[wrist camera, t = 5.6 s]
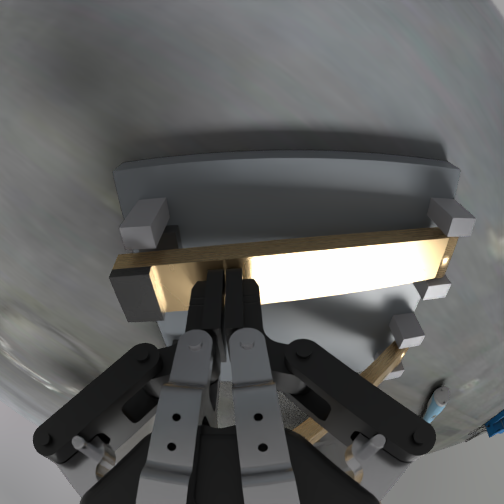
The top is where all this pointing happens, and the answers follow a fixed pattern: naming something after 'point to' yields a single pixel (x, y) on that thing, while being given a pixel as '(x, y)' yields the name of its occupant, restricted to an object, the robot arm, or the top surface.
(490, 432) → the soldering iron
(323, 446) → the mechanical component
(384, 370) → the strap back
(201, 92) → the top surface
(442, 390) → the 3d printing pen
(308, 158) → the mount plate
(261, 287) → the strap front
